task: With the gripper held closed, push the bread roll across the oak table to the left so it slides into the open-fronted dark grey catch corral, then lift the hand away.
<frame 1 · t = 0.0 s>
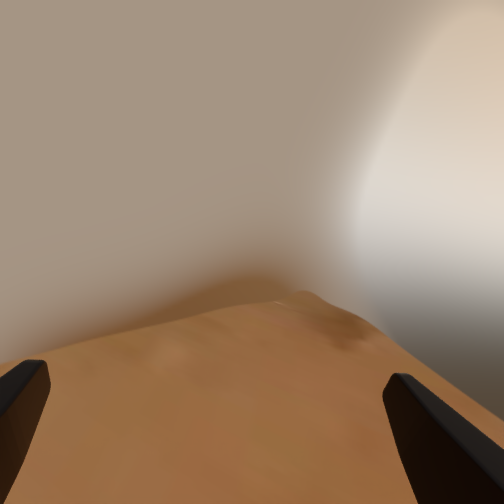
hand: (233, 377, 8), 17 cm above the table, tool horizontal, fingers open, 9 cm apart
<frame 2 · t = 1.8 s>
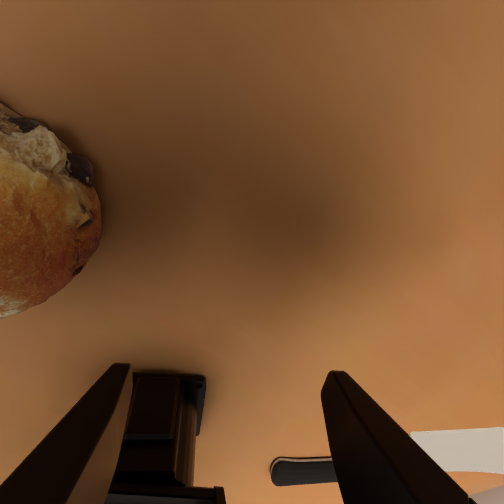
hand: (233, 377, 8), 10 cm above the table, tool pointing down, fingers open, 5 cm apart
kitchen cleaver: (425, 440, 31), on the table
bread roll: (2, 194, 15), on the table
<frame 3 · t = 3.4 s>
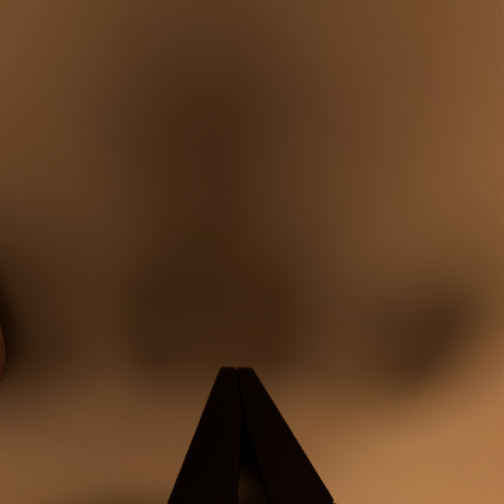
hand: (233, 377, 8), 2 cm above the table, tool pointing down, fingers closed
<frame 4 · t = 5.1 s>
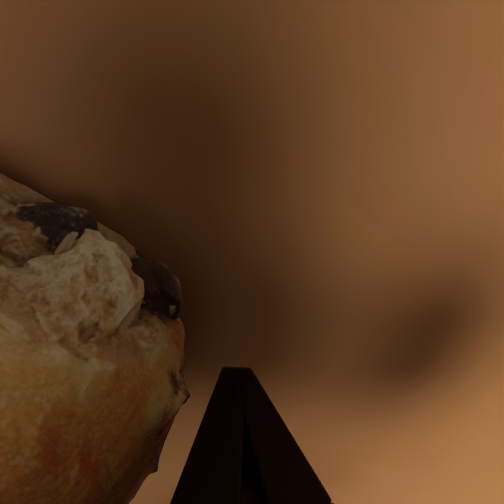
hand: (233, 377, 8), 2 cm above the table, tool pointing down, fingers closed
bread roll: (9, 317, 9), on the table, touching gripper
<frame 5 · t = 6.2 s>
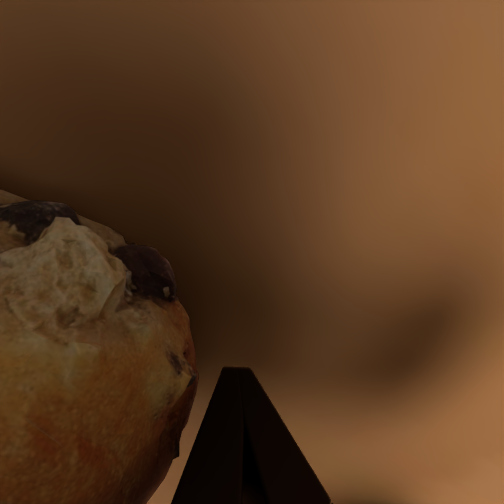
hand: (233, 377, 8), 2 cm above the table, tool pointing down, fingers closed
bread roll: (23, 326, 9), on the table, touching gripper
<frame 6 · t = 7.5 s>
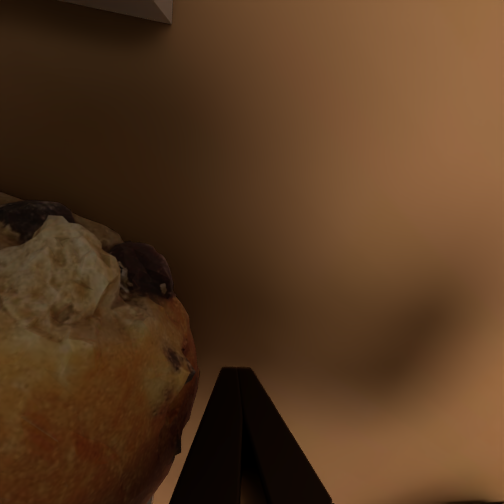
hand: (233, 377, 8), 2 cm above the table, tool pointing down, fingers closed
bread roll: (25, 327, 9), on the table, touching gripper
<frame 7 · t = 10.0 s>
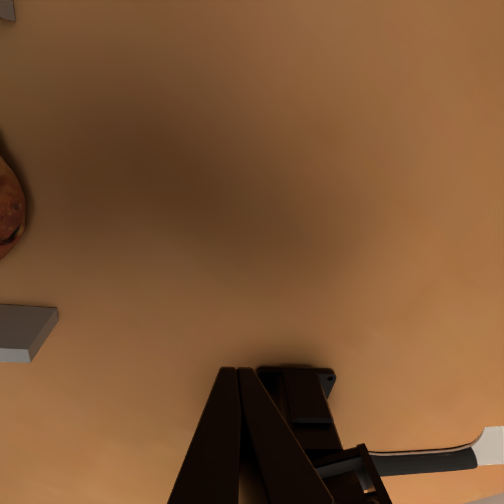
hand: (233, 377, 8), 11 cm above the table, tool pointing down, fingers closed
kitchen cleaver: (493, 435, 34), on the table
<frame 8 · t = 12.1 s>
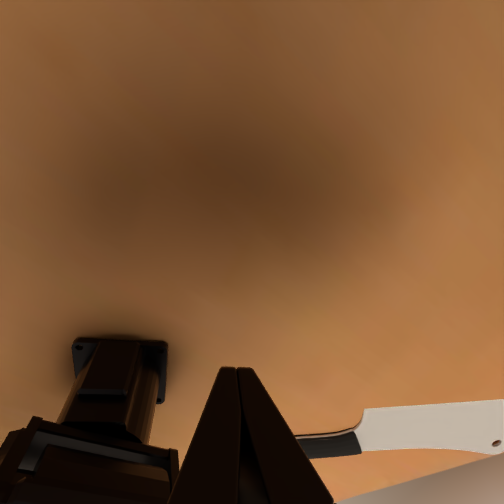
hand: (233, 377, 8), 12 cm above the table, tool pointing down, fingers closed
kitchen cleaver: (382, 418, 32), on the table
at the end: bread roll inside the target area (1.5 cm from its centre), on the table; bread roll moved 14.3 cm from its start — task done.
